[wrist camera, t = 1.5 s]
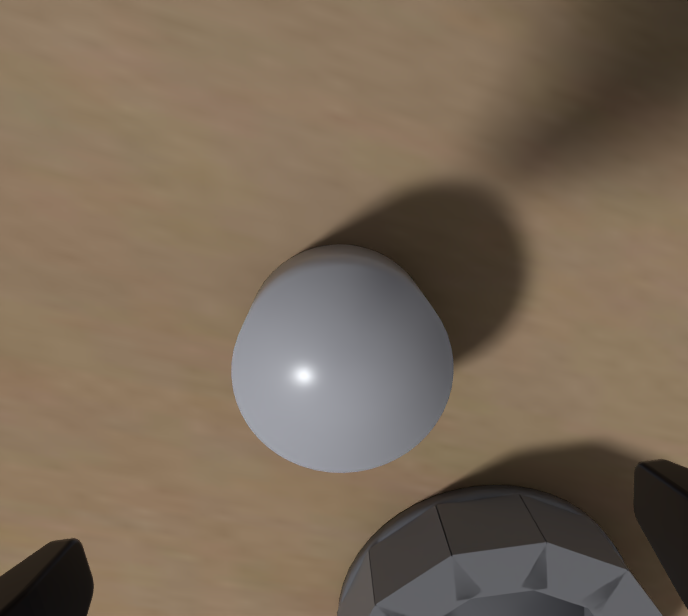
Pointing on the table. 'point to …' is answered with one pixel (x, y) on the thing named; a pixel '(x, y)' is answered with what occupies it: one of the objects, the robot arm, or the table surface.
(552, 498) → the grey crown ring
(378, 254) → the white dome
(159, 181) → the table surface
